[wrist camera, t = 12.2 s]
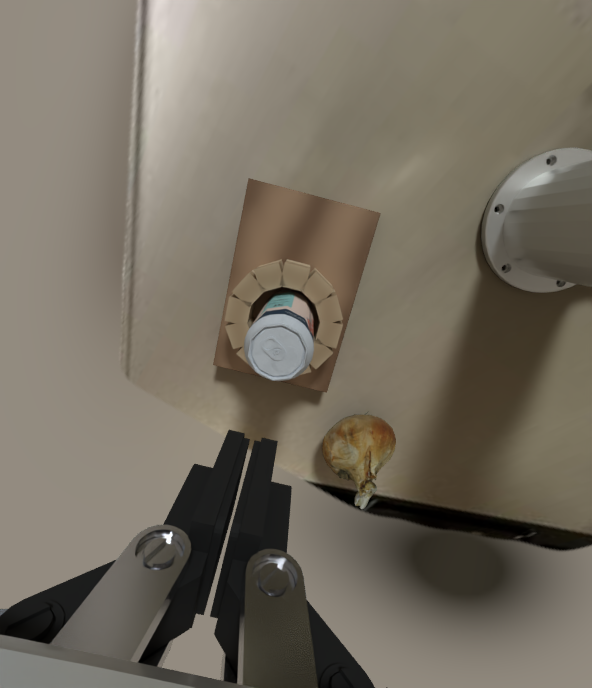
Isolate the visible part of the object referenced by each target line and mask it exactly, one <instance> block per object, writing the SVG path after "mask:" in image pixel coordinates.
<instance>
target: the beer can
mask: <svg viewBox="0 0 592 688" xmlns="http://www.w3.org/2000/svg"><path fill="white" fill-rule="evenodd" d="M244 352H245V357H246V359H247V361H248V363H249V365H250V366H251V367H252V369H253V370H254V371H255V372H256V373H258V374H259V375H261V376H262V377H264V378H267V379H270V380H273V381H284V380H290V379H293V378H295V377H297V376H299V375H300V374H302V373H303V372H304V371H305V370H306V369H307V367H308V366H309V364H310V362H311V360H312V358H313V352H314V332H313V309H312V306H311V304H310V302H309V300H308V299H307V298H306V297H305V296H304V295H302V294H301V293H299V292H297V291H294V290H282V291H279V292H276V293H275V294H274V295H272V296H271V297H270V298H269V299H268V301H267V302H266V303H265V305H264V307H263V308H262V310H261V311H260V313H259V314H258V316H257V318H256V319H255V321H254V322H253V324H252V325H251V327H250V329H249V330H248V332H247V334H246V337H245V341H244Z"/></svg>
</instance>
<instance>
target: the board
mask: <svg viewBox="0 0 592 688" xmlns="http://www.w3.org/2000/svg"><path fill="white" fill-rule="evenodd" d="M379 217H380V213H378V212H374V211H370V210H367V209H363V208H359V207H355V206H352V205H348V204H344V203H340V202H336V201H333V200H329V199H325V198H321V197H317V196H314V195H310V194H306V193H302V192H298V191H295V190H291V189H287V188H283V187H280V186H276V185H272V184H268V183H264V182H261V181H257V180H253V179H248V184H247V190H246V195H245V200H244V205H243V211H242V216H241V221H240V226H239V232H238V237H237V242H236V247H235V253H234V258H233V263H232V268H231V274H230V279H229V284H228V289H227V295H226V300H225V305H224V311H223V316H222V321H221V326H220V332H219V337H218V342H217V347H216V353H215V358H214V363H213V365H216V366H220V367H224V368H228V369H232V370H236V371H240V372H244V373H248V374H253V375H257V376H261V375H259V374H258V373H256V372H255V371H254V370H253V369H252V367H251V366H250V365H249V363H248V361H247V359H246V357H245V352H244V341H245V337H246V334H247V332H248V330H249V329H250V327H251V325H252V324H253V322H254V321H255V319H256V318H257V316H258V314H259V313H260V311H261V310H262V308H263V307H264V305H265V303H266V302H267V301H268V299H269V298H270V297H271V296H272V295H274V294H275V293H276V292H279V291H282V290H294V291H297V292H299V293H301V294H302V295H304V296H305V297H306V298H307V299H308V300H309V302H310V304H311V306H312V309H313V332H314V352H313V358H312V360H311V362H310V364H309V366H308V367H307V369H306V370H305V371H304V372H303V373H302V374H300V375H299V376H297V377H295V378H293V379H290V380H284V381H281V382H285V383H290V384H294V385H298V386H302V387H306V388H310V389H314V390H318V391H322V392H327V390H328V386H329V383H330V380H331V376H332V373H333V370H334V366H335V363H336V360H337V356H338V353H339V350H340V346H341V343H342V340H343V336H344V333H345V330H346V326H347V323H348V320H349V316H350V313H351V310H352V306H353V303H354V300H355V297H356V293H357V290H358V287H359V283H360V280H361V277H362V273H363V270H364V267H365V263H366V260H367V257H368V253H369V250H370V247H371V243H372V240H373V237H374V233H375V230H376V227H377V223H378V220H379ZM261 377H262V376H261Z"/></svg>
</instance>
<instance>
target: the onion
mask: <svg viewBox="0 0 592 688" xmlns="http://www.w3.org/2000/svg"><path fill="white" fill-rule="evenodd" d="M367 413H368V412H367ZM367 413H366V414H367ZM366 414H364V415H355V414H354V415H353V416H349V417H346V418H344V419H342V420H341V421H339V422H338V423H336V424H335V425H334V426H333V427H332V428H331V429H330V430H329V431H328V433H327V434H326V436H325V437H324V440H323V448H322V451H323V455H324V458H325V461H326V463H327V465H328V466H329V467H330V468H331V469H332V470H333V472H334V473H335V474H337V475H338V476H339V477H340V478H343V479H347V480H353V481H354V482H355V485H356V488H357V490H358V492H357V494H356V496H355V505H356V506H357V505H359V506H360V508H361V509H363V508H365V506H366V504H367V503H368V500H369V498H370V497H371V496H372V494H374V493H375V492H376V490H377V487H376V485H375V484H374V483H373V482H372V480H373V479H374V480H376V479H375V478H376V477H377V475H376V474H377V473H378V472H379V470H380V469H381V468H382V467H383V466H384V465H385V464H386V463H387V462H388V461H389V460H390V458H391V457H392V454H393V452H394V450H395V444H396V438H395V434H394V432H393V429H392V428H391V427H390V425H389V424H388V423H386V422H385V421H384V420H382V419H381V418H378V417H375V416H372V415H366Z"/></svg>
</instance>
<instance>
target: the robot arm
mask: <svg viewBox="0 0 592 688" xmlns="http://www.w3.org/2000/svg"><path fill="white" fill-rule="evenodd" d="M546 160H547V161H548V163H546ZM495 207H497V211H496V212H495V211H494V209H495ZM481 240H482V247H483V252H484V254H485V257H486V260H487V262H488V264H489V265H490V267H491V269H492V270H493V272H494V273H495V274H496V275H497V276H498V277H499V278H500V279H501V280H503V281H504V282H506V283H508V284H509V285H511V286H513V287H516V288H519V289H521V290H525V291H530V292H538V293H548V292H556V291H560V290H564V289H567V288H570V287H572V286H574V285H576V284H579V285H584V286H589V287H592V151H590V150H586V149H580V148H561V149H557V150H553V151H549V152H546V153H543V154H540V155H537V156H535V157H533V158H531V159H529V160H527V161H526V162H524V163H522V164H521V165H519V166H518V167H517V168H516V169H514V170H513V171H512V172H511V173H509V174H508V175H507V177H506V178H505V179H504V180H503V181H502V182H501V183H500V184H499V186H498V187H497V189H496V190H495V192H494V194H493V195H492V197H491V198H490V201H489V203H488V205H487V208H486V210H485V214H484V218H483V222H482V232H481ZM503 265H504V268H503V270H502V266H503ZM556 282H557V283H556ZM244 435H245V433H240V432H236V431H232V430H229V431H228V433H227V435H226V438H225V440H224V443H223V445H222V448H221V450H220V452H219V455H218V457H217V460H216V462H215V465H214V467H213V468H211V467H206V466H202V465H198V464H194V465H193V467H192V469H191V471H190V473H189V475H188V477H187V479H186V481H185V482H184V485H183V486H182V489H181V490H180V492H179V495H178V497H177V498H176V500H175V503H174V504H173V506H172V509H171V511H170V512H169V514H168V516H167V519H166V520H165V522H164V524H163V525H156V526H152V527H149V528H147V529H145V530H143V531H141V532H140V533H139V534H138V535H137V536H136V537H134V538H133V540H132V541H131V542H130V543H129V545H128V546H127V547H126V549H125V550H124V551H123V552H122V553H121V555H120V556H119V557H118V559H117V560H114V561H112V562H110V563H107V564H105V565H103V566H101V567H98V568H96V569H94V570H91V571H89V572H87V573H84V574H82V575H80V576H77V577H75V578H73V579H70V580H68V581H66V582H63V583H61V584H59V585H56V586H54V587H52V588H49V589H47V590H45V591H42V592H40V593H38V594H35V595H33V596H31V597H28V598H26V599H24V600H22V601H20V602H19V603H17V604H15V605H13V606H11V607H10V608H9V609H0V688H375V687H374V685H373V683H372V682H371V680H370V679H369V677H368V676H367V674H366V673H365V671H364V670H363V669H362V668H361V666H360V665H359V664H358V663H357V661H356V660H355V659H354V658H353V657H352V655H351V654H350V653H349V652H348V650H347V649H346V648H345V647H344V645H343V644H342V643H341V642H340V640H339V639H338V638H337V637H336V635H335V634H334V633H333V632H332V631H331V629H330V628H329V627H328V626H327V625H326V623H325V622H324V621H323V619H322V618H321V617H320V616H319V614H318V613H317V612H316V611H315V609H314V608H313V607H312V606H311V605H310V603H309V602H308V601H307V599H306V592H305V585H304V577H303V573H302V570H301V567H300V566H299V564H298V563H297V561H296V560H295V559H294V558H293V557H292V556H290V555H289V554H287V541H288V529H289V516H290V503H291V486H288V485H284V484H279V483H275V482H271V479H272V473H273V467H274V460H275V454H276V448H277V441H274V440H270V439H266V438H262V440H261V442H259V441H254V445H253V449H252V453H251V457H250V460H249V464H248V468H247V471H246V475H245V479H244V482H243V486H242V490H241V493H240V497H239V501H238V505H237V508H236V512H235V516H234V519H233V523H232V527H231V531H230V535H229V539H228V544H227V548H226V552H225V556H224V560H223V564H222V568H221V573H220V577H219V581H218V585H217V589H216V593H215V598H214V602H213V606H212V611H211V615H210V616H211V617H215V618H218V620H217V624H216V629H215V633H214V634H215V637H216V638H217V640H218V642H219V644H220V645H221V647H222V649H223V651H224V654H223V659H222V667H221V680H216V679H212V678H207V677H202V676H198V675H193V674H188V673H183V672H179V671H174V670H169V669H165V668H161V667H162V665H163V663H164V661H165V659H166V657H167V655H168V653H169V651H170V648H171V645H172V642H173V639H174V638H176V637H178V636H179V635H181V634H182V633H184V632H185V631H187V630H189V628H192V625H193V622H194V618H195V615H196V613H197V614H201V615H204V611H205V608H206V605H207V601H208V597H209V594H210V591H211V587H212V583H213V580H214V576H215V573H216V569H217V565H218V562H219V558H220V555H221V551H222V548H223V544H224V540H225V537H226V533H227V530H228V526H229V523H230V519H231V516H232V512H233V508H234V504H235V500H236V496H237V491H238V487H239V483H240V479H241V475H242V470H243V466H244V462H245V458H246V453H247V449H248V445H249V441H250V439H246V438H244Z"/></svg>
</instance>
